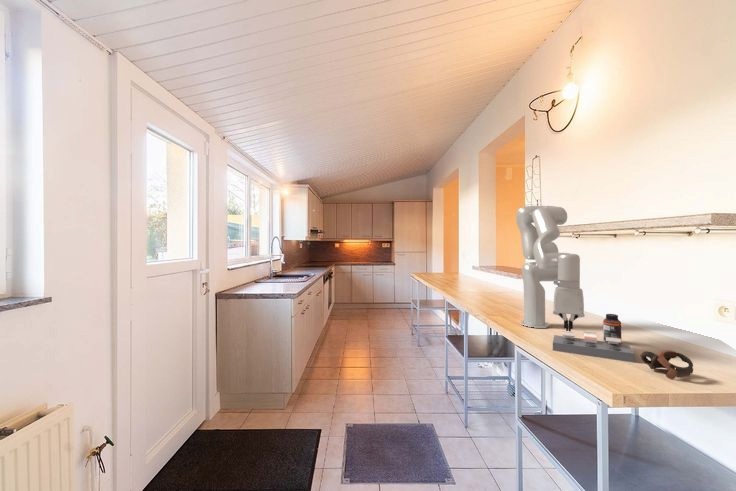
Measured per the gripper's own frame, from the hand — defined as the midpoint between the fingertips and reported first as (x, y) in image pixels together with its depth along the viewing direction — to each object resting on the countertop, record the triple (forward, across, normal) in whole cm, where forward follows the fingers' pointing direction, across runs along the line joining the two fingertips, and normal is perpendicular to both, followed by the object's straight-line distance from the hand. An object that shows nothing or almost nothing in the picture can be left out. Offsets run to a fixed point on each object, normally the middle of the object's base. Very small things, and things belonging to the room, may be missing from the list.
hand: (568, 330), depth 129 cm
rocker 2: (+2, +14, -3) cm, 15 cm away
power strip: (+6, +7, -5) cm, 11 cm away
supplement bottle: (+6, +15, +14) cm, 22 cm away
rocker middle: (+2, +7, -2) cm, 8 cm away
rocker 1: (+2, 0, -3) cm, 4 cm away
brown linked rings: (+6, +26, -18) cm, 32 cm away
